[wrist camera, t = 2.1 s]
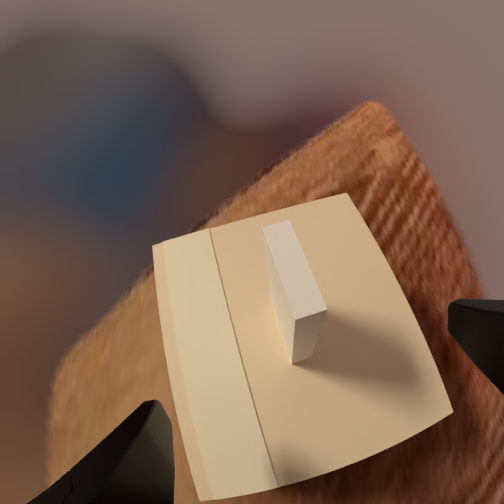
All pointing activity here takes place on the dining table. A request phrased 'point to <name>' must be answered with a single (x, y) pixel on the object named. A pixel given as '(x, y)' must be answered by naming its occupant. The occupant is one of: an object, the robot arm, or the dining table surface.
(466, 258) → the dining table surface
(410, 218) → the dining table surface
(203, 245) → the carton lid
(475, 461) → the dining table surface
